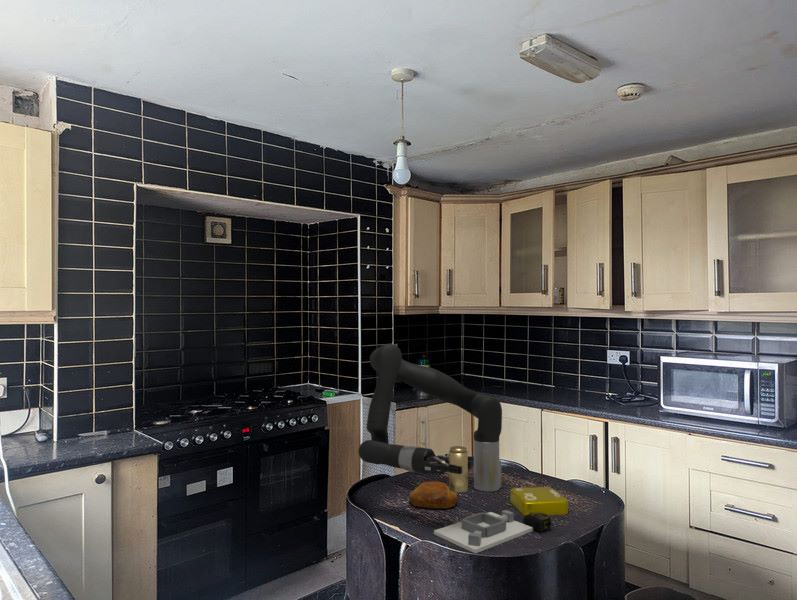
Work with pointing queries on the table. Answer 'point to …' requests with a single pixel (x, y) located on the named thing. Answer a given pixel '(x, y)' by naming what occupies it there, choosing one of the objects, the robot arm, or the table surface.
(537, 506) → the element tile
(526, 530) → the cradle
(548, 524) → the tape measure
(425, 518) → the table surface
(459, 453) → the golden brown cylinder
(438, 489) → the croissant
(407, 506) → the table surface
